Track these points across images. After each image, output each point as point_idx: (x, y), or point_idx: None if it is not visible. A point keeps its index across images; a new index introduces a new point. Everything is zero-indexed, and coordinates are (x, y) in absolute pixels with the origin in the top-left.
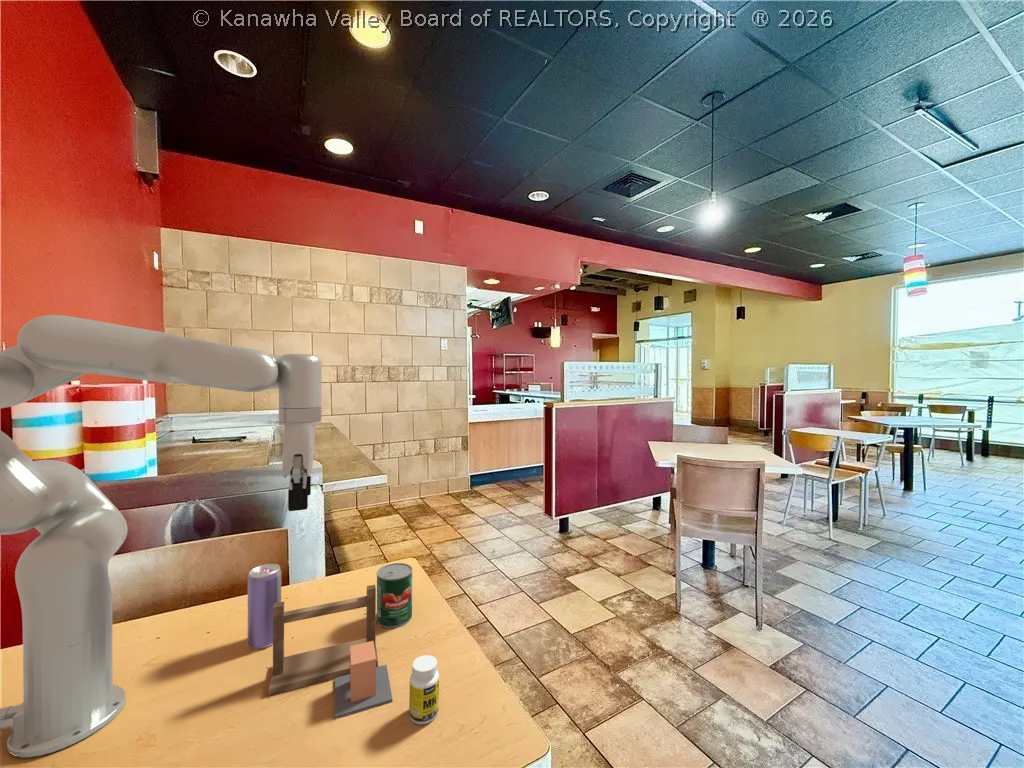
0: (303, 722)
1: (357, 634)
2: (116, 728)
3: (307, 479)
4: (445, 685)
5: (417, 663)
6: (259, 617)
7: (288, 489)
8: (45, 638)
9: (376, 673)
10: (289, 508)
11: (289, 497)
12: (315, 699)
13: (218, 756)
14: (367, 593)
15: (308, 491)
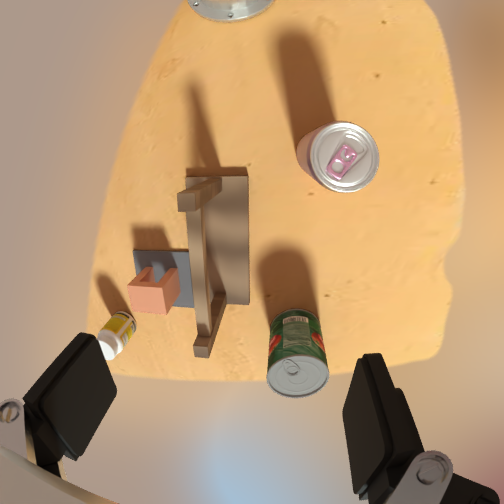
0: (137, 220)
1: (277, 282)
2: (201, 31)
3: (357, 480)
4: (152, 346)
5: (102, 345)
6: (300, 148)
7: (28, 401)
8: None
9: (182, 295)
10: (76, 340)
11: (47, 375)
12: (165, 230)
13: (122, 146)
14: (195, 342)
15: (346, 423)
